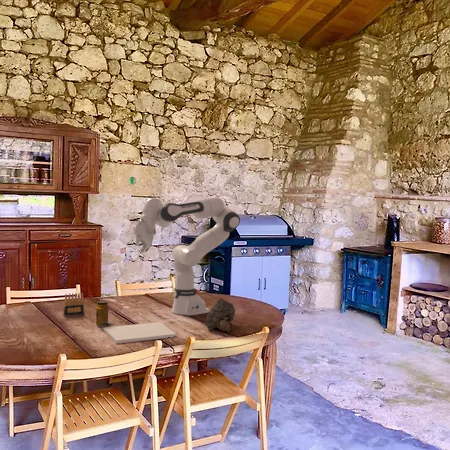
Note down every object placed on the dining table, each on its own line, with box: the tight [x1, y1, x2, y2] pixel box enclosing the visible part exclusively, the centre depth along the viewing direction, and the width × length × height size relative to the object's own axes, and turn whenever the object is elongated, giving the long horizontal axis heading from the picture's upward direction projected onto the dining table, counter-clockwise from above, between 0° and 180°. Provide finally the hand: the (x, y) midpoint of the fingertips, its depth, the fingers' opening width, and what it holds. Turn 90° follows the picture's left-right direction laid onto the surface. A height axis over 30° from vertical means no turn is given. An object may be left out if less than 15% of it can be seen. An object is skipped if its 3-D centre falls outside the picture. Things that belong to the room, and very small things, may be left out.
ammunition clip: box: [63, 292, 85, 316], centre depth 268 cm, size 11×2×12 cm, turn 120°
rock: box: [204, 298, 236, 333], centre depth 253 cm, size 18×14×15 cm
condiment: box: [93, 300, 114, 328], centre depth 251 cm, size 7×8×12 cm
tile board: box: [102, 321, 178, 344], centre depth 238 cm, size 30×22×2 cm
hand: (139, 248), depth 255 cm, fingers open, 8 cm apart
